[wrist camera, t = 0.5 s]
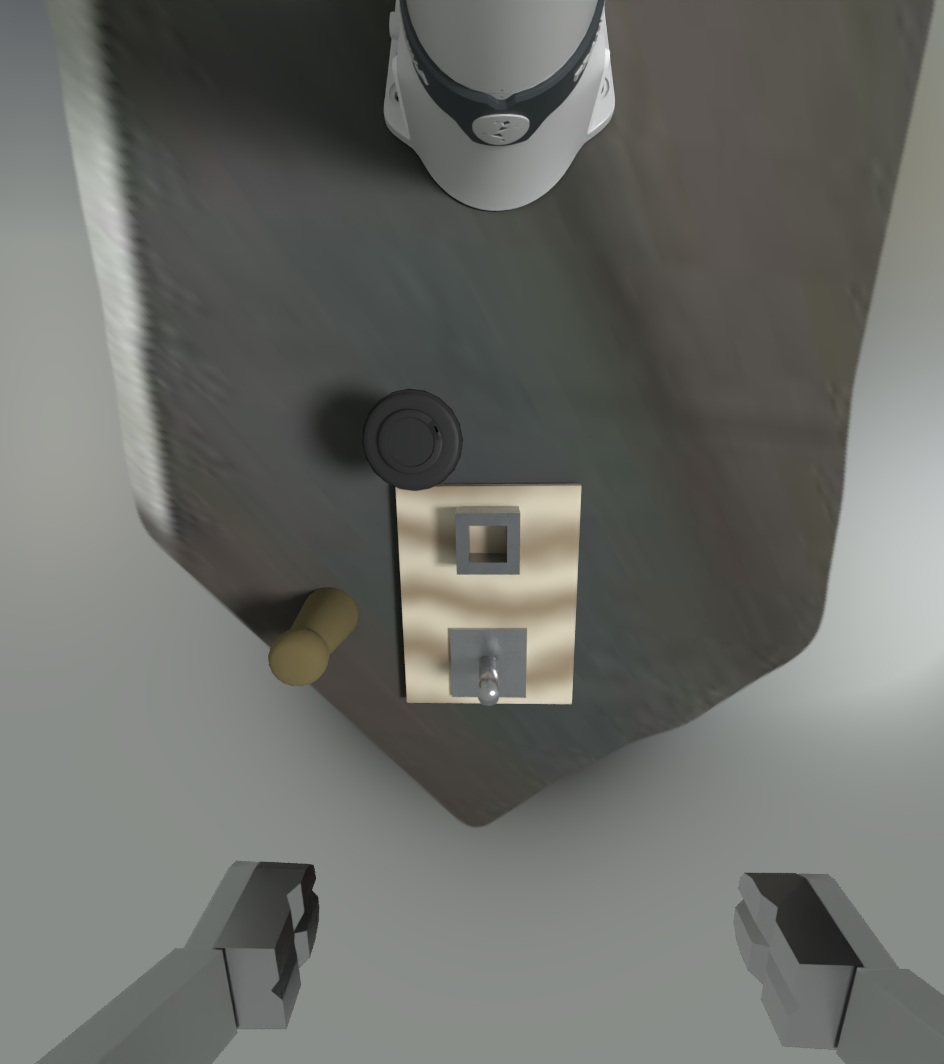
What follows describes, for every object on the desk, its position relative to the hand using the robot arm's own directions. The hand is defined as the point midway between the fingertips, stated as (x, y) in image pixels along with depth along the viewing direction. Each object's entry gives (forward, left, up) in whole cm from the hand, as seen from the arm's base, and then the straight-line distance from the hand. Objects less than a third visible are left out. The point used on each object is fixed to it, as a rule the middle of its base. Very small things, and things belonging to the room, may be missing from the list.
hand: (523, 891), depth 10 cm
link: (+4, -1, -41) cm, 41 cm away
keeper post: (+18, -1, -41) cm, 45 cm away
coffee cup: (-6, -7, -42) cm, 43 cm away
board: (+11, -1, -42) cm, 43 cm away
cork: (+13, -18, -42) cm, 48 cm away
